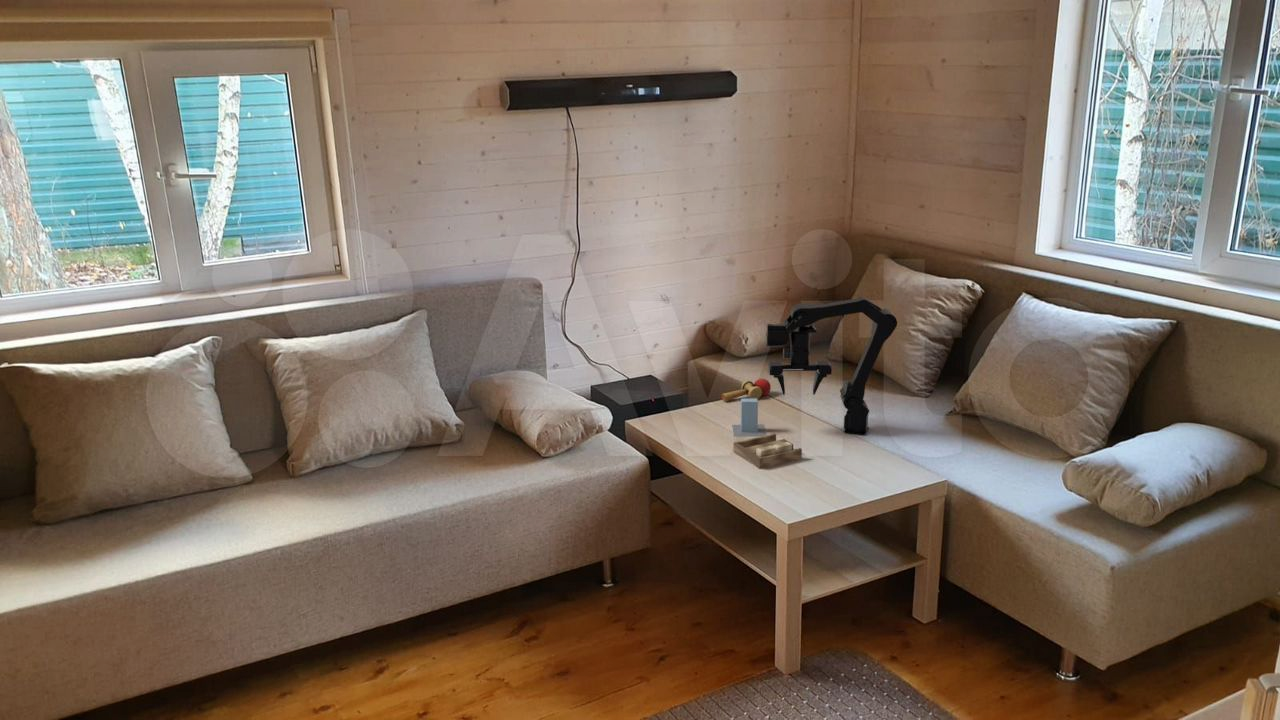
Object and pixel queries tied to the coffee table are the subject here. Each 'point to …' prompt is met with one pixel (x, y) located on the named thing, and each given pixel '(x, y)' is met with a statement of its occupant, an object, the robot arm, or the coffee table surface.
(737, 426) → the mat
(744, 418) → the light blue block
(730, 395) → the kendama
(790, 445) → the offcut
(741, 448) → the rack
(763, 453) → the offcut
